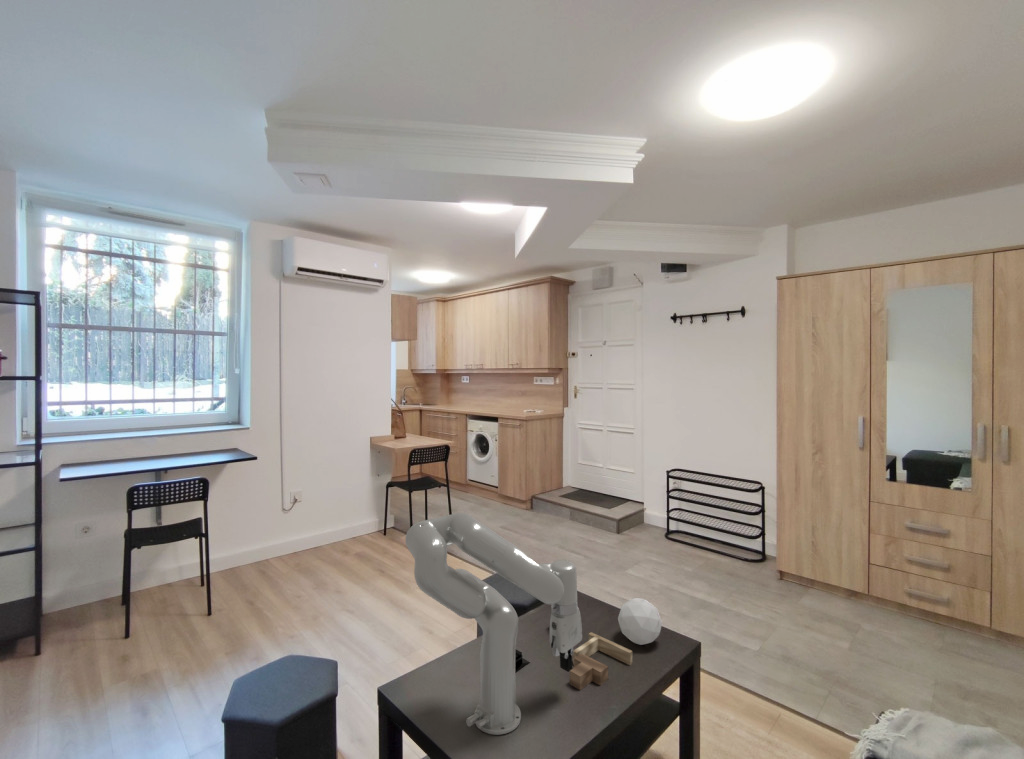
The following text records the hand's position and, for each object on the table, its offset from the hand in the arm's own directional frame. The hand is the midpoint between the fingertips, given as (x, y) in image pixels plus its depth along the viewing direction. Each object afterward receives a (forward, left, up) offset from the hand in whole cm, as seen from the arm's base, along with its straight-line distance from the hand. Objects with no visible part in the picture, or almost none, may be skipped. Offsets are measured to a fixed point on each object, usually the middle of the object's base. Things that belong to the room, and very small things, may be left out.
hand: (566, 668), depth 136 cm
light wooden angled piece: (+20, +2, -8) cm, 22 cm away
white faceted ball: (+41, -1, -8) cm, 41 cm away
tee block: (+11, 0, -8) cm, 13 cm away
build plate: (0, +20, -8) cm, 22 cm away
